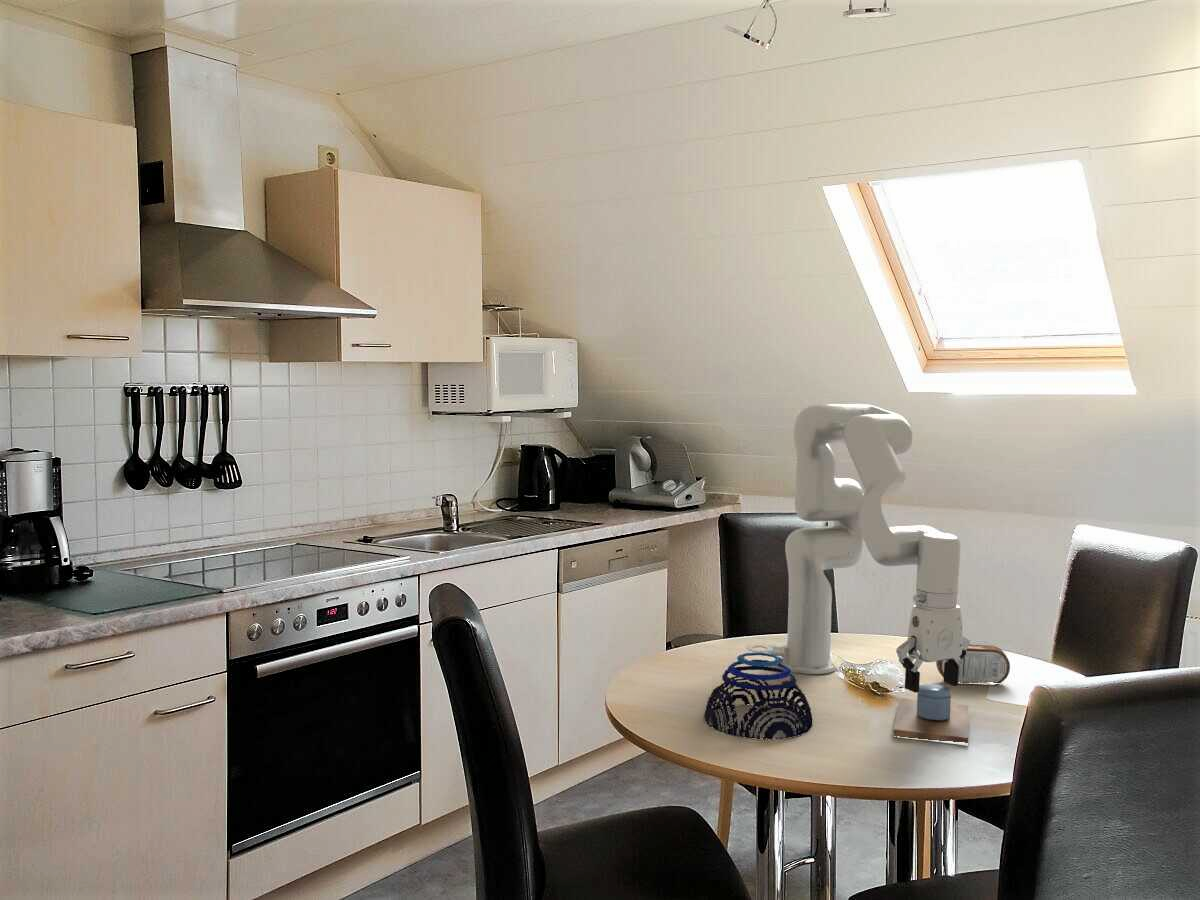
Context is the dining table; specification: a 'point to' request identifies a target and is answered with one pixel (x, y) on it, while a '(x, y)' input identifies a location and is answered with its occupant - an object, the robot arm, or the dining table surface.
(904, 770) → the dining table surface
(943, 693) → the cap
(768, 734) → the decorative bowl
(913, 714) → the post base
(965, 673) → the tin
